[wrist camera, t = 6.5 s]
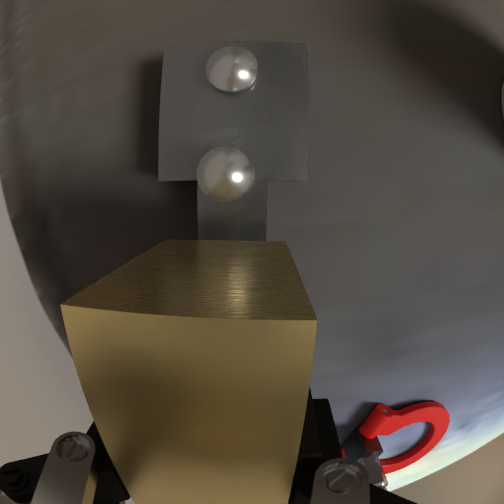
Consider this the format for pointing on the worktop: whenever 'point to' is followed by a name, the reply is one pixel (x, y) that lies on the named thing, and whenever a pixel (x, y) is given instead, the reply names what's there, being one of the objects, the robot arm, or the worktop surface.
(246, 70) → the grey plate with studs
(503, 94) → the canned tomato
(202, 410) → the tan cork brick
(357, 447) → the tow hook
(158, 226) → the worktop surface
